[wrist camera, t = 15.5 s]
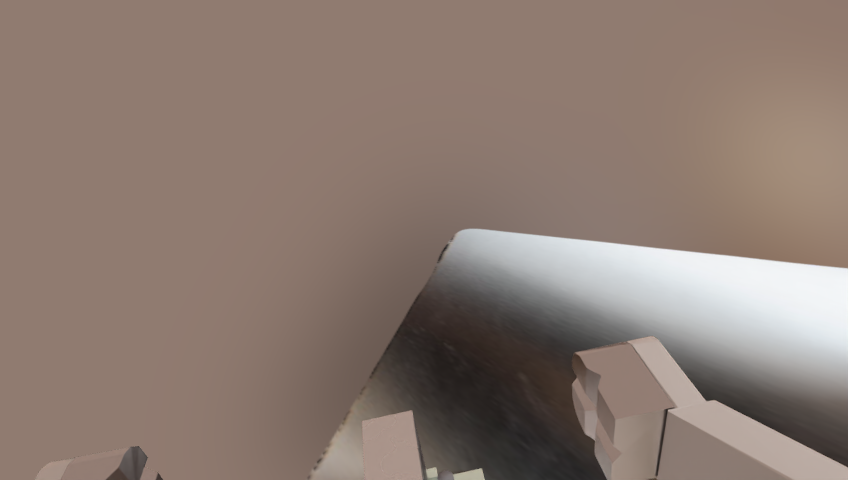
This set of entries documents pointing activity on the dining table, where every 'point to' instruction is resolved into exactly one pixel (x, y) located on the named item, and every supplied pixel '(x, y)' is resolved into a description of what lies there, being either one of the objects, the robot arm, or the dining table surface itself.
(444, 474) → the peg board
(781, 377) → the dining table surface
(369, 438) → the block
